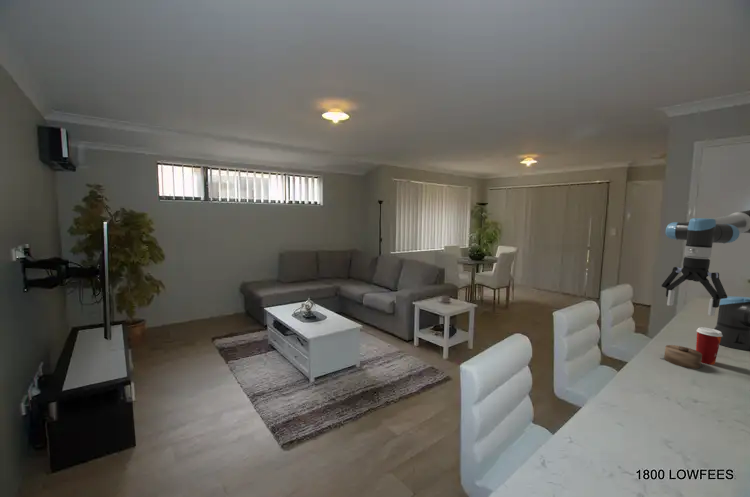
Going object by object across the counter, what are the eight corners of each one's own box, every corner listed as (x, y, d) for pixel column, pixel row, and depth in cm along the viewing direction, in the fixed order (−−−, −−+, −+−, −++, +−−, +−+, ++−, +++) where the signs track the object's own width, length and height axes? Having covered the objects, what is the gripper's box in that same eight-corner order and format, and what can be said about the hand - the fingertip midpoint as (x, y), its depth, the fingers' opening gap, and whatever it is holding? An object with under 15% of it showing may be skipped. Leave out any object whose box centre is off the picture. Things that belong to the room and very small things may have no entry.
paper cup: (723, 368, 133) (728, 334, 132) (700, 365, 135) (705, 332, 133) (708, 359, 141) (713, 327, 139) (687, 357, 143) (691, 325, 141)
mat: (675, 357, 143) (675, 355, 143) (704, 367, 133) (704, 366, 133) (659, 359, 139) (659, 358, 139) (688, 370, 130) (688, 369, 130)
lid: (674, 355, 143) (676, 341, 143) (707, 366, 133) (709, 352, 132) (657, 358, 140) (659, 344, 139) (689, 370, 129) (691, 355, 129)
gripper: (655, 253, 142) (649, 302, 144) (733, 262, 118) (724, 320, 121) (667, 253, 144) (660, 301, 147) (745, 262, 121) (736, 319, 123)
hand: (689, 310), depth 134 cm, fingers open, 13 cm apart
